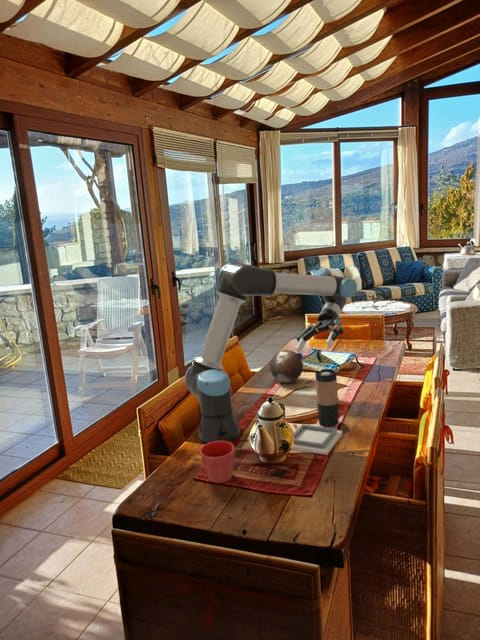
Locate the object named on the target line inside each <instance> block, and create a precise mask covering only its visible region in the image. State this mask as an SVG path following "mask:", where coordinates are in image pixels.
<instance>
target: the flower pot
mask: <svg viewBox="0 0 480 640" xmlns="http://www.w3.org/2000/svg"><path fill="white" fill-rule="evenodd" d="M199 454H200V457H201V461H202V464H203V468H204V470H205V472H206V473H205V474H206V476H207V479H208V481H209V482H211V483H214V484H223V483H226V482H228V481H230V480H231V479H232V477H233V475H234V461H235V459H234V458H235V446H234V444H233V443H232V442H230V441H228V442H227V441H214V442H210V443H206V444H204V445H203V446H201V448H200V449H199Z"/></svg>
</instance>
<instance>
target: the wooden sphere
mask: <svg viewBox="0 0 480 640" xmlns="http://www.w3.org/2000/svg"><path fill="white" fill-rule="evenodd" d="M302 360H303V359H302V358H301V357H300V354H299V353H298V352H297V353H296V352H295V351H293V350H289V349H283V350H280V351H278V352H276V353H275V354H274V355H273V357H272V358H271V360H270V364H269V366H270V367H269V368H270V371H271V375H272V376H273V378H274V379H276V380H277V381H279V382H280V383H283V384H286V383H287V384H289V383H292V382H293V383H294V382H295V381H296V380H298V379H299V378H300V377H301V375H302V373H303V370H304V363H303V361H302Z"/></svg>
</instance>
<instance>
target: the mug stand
mask: <svg viewBox="0 0 480 640" xmlns="http://www.w3.org/2000/svg"><path fill="white" fill-rule="evenodd" d="M293 432H294V438H295V439H294V446H293V449H292V450H295V451H301V452H307V453H311V454H312V453H314V454H320V455H325V456H328V454H329V453H330V451H331V450H332V449H333V447H334V446H335V445H336V443H337V442H338V440H339V439H340V438H341V436H342V435H343V430H339V429H337V428H334V427H323V426H318V425H317V426H316V425H311V424H310V425H309V424H300V425H299V426H298V427H297V428H296V429H295V430H294V431H293Z"/></svg>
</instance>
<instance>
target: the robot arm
mask: <svg viewBox="0 0 480 640" xmlns="http://www.w3.org/2000/svg"><path fill="white" fill-rule="evenodd" d="M217 275H218V276H217V281H218V284H219V285H218V287H217V291H216V293H217V295H218V301H217V304H216V306H215V310H214V312H213V316H212V318H211V322H210V324H209V327H208V330H207V334H206V336H205V339H204V342H203V345H202V349H201V350H200V355H199V356H198V357H196V358H194V360H193V363H192V365H191V366H189V367H188V368H187V370H186V372H185V376H184V383H185V386H186V388H187V390H188V391H189V392H190V394H192V395H193V396H195V397H196V399H198V400H199V407H200V413H201V418H200V424H199V428H198V438H199V439H200V441H202V442H204V443H206V444H208V443H210V442H214V441H227V442H230V441H232V440H235V439H237V437H239V436H240V434H241V430H240V425H239V424H238V420H237V419H236V416H235V414H234V412H233V411H234V409H233V401H232V398H233V397H232V389H231V385H232V384H231V383H232V382H231V381H230V377H229V374H228V373H227V372H225V371H223V369H224V367H223V365H222V360H223V357H224V355H225V352H226V348H227V345H228V343H229V340H230V337H231V334H232V331H233V327H234V324H235V322H236V320H237V319H236V318H237V316H238V313H239V310H240V307H241V305H242V304H244V303H246V302H247V298H248V297H251V296H252V297H257V296H260V297H261V296H268V297H269V296H273V295H274V294H286V295H287V294H290V295H306V296H307V295H309V296H321V297H322V299H323V300H324V304H323V306H322V309H321V311H320V313H319V314H318V316H317V322H316V323H315V324H313V323H309V325H308V326H307V327H306V328H305V329H304V330H303V331H302V332H301V333H300V334H299V335H297V336H296V338H295V339H296V340H297V346H296V347H295V349H296V352H297V354H298V355H300V354H302V352H303V349H304V348H305V346H306V344H307V343H306V342H308V341H309V340H310V339H312V338H313V337H314V336H316V335H319V334H321V333H322V332H327V331H329V332H330V333H329V336H328V338H327V340H326V345H327V346H328V348H329V349H331V348H332V347H333V344H334V342H335V341H336V340H337V338H338V337H339V335H343V334H345V332H344V329H343V327H342V320H341V318H340V316H341V314H342V311H343V310H344V308H345V306H346V304H347V300H348V298H353V297H354V296H355V295H356V293H357V291H358V283H357V282H356V280H355V279H353V278H350V277H345V276H339V275H333V274H332V273H331V272H330V270H329V268H327V267H323V268H320V269H318V270H316V271H315V272H314V273H313V274H302V273H301V274H300V273H288V272H287V273H286V272H276V271H275V270H274V269H272V268H271V269H269V268H263V267H259V266H256V265H252V264H247V263H243V262H239V261H237V262H235V261H233V262H229V263H227V264H225V265H223V266H222V268H220V270H219V273H218V274H217ZM335 326H336V327H337V328H335Z"/></svg>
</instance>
